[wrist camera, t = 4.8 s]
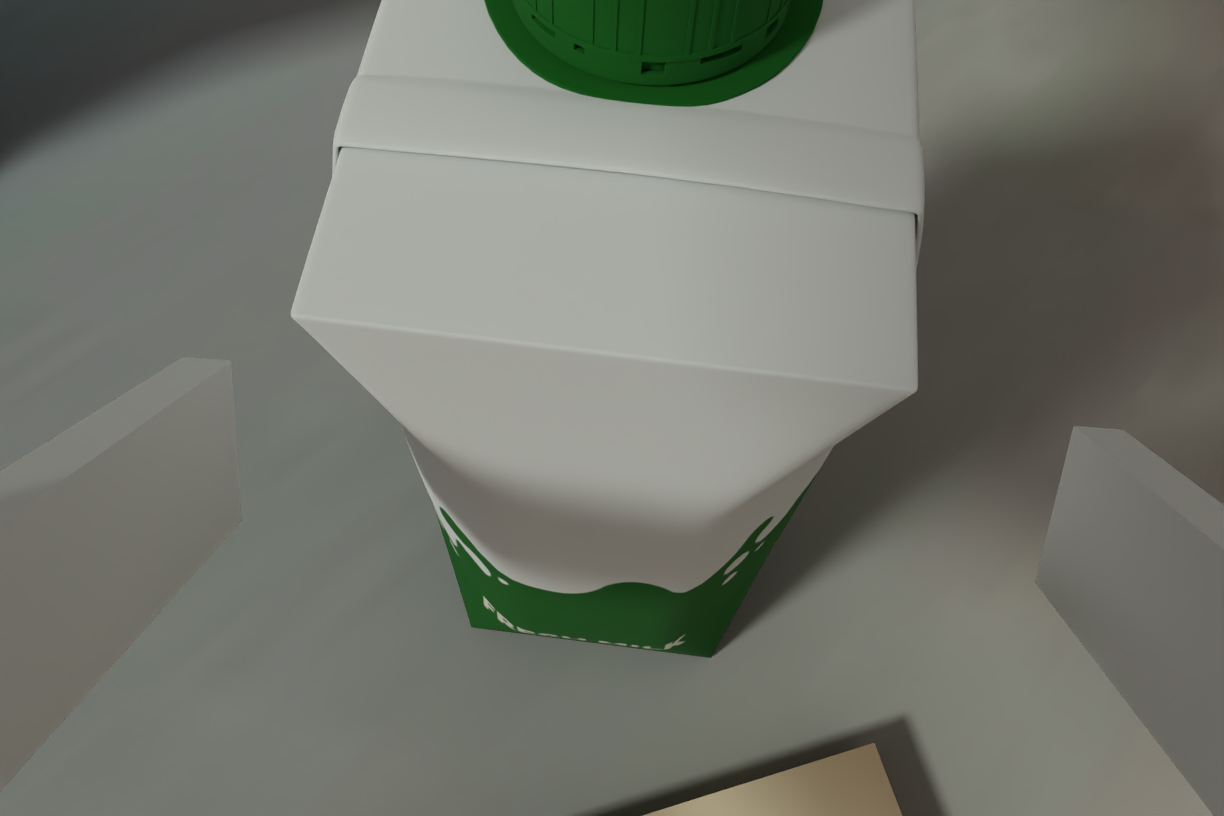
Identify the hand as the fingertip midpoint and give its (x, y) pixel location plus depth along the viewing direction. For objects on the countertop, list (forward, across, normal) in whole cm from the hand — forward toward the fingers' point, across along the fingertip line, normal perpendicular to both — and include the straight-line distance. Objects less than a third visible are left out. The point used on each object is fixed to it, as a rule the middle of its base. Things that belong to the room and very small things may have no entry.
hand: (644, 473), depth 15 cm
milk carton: (+12, -1, -7) cm, 14 cm away
